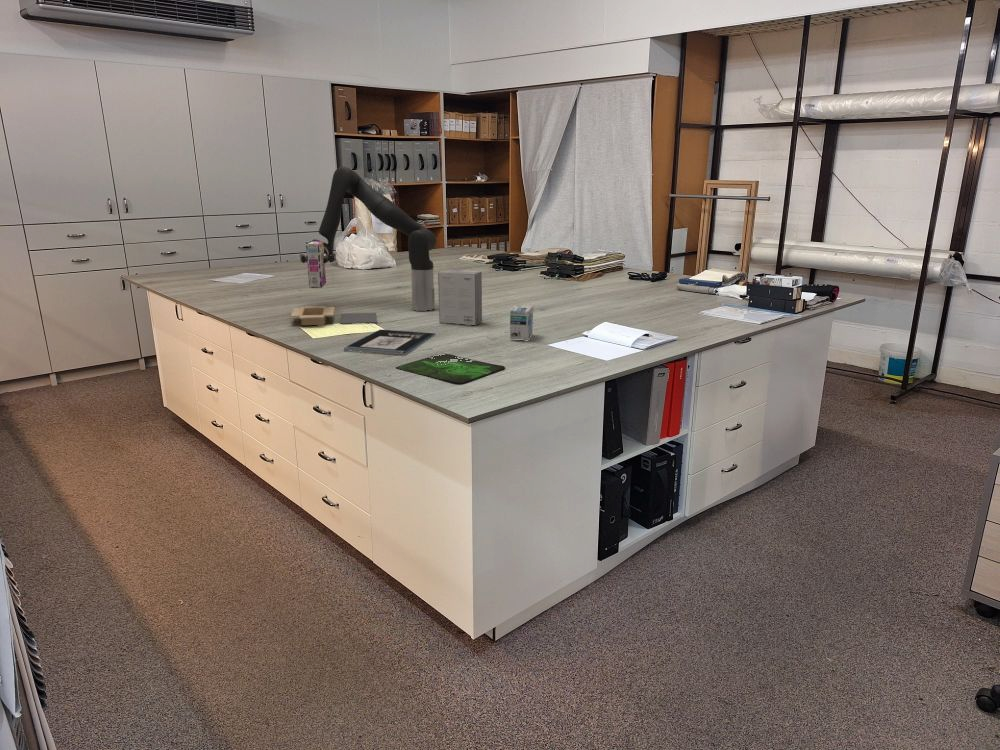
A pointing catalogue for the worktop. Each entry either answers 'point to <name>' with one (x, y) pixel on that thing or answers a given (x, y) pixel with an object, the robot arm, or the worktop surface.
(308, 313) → the carton
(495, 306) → the worktop surface
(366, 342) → the sketchbook
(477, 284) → the hard drive box
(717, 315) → the worktop surface
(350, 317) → the mat
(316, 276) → the candy bar box
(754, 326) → the worktop surface
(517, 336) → the light bulb box
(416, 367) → the mouse mat
